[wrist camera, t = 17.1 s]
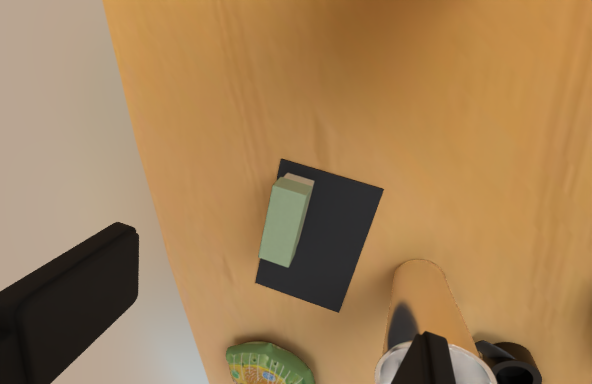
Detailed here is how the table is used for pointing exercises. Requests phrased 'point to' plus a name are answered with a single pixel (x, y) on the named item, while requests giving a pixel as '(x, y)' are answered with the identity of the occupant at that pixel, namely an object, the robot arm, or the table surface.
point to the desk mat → (325, 238)
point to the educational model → (266, 365)
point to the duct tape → (510, 363)
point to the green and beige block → (285, 218)
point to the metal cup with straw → (428, 324)
